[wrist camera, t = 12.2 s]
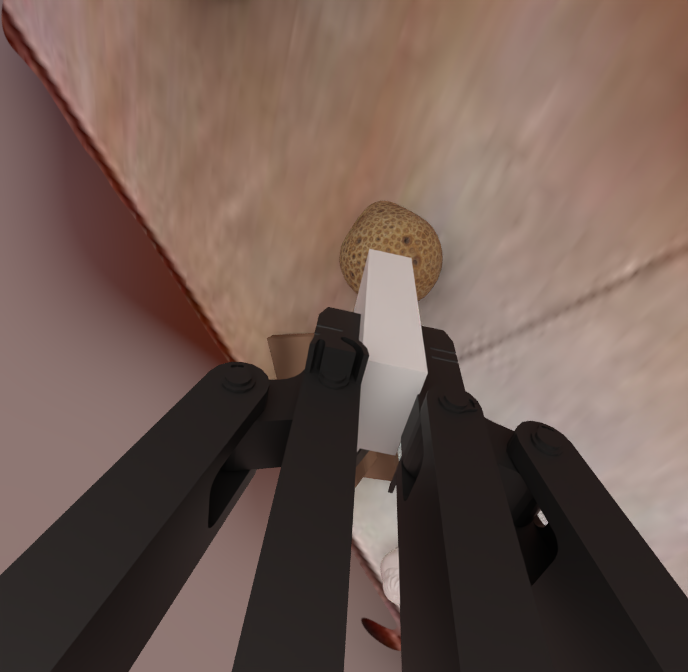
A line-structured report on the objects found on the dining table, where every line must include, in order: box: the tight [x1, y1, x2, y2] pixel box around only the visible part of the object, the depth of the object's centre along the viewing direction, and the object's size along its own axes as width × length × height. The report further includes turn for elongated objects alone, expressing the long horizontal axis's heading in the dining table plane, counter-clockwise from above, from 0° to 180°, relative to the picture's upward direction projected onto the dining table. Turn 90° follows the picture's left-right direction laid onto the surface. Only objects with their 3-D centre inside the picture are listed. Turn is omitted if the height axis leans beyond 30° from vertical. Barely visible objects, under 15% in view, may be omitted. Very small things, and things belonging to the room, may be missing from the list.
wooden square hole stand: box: [267, 333, 399, 487], centre depth 48 cm, size 14×18×12 cm
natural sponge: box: [340, 201, 442, 301], centre depth 38 cm, size 9×9×10 cm
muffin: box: [381, 548, 400, 605], centre depth 52 cm, size 6×6×7 cm
